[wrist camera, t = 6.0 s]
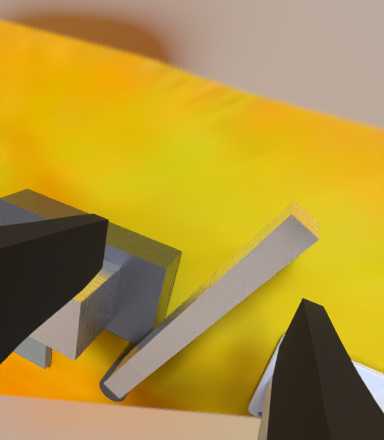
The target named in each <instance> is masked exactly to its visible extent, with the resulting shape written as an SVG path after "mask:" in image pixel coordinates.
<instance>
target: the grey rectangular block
mask: <svg viewBox="0 0 384 440" xmlns="http://www.w3.org/2000/svg"><path fill="white" fill-rule="evenodd" d="M120 270H121V267H119V266H117V265H115V264H112V263H110V262H108V261H105V260H103V268H102V269H101V270H100V271H99V273H98V274H97V275H96V276H95V277H94V278H93V280H92V281H91V282H90V283H89V284H88V285H87V286H86V287H85V288H84V289H83V290H82V291H81V292H80V293H79V294H78V295H76V296H75V297H74V298H73V299H72V300H71V301H69V302H68V303H67V304H66V305H65V306H63V307H62V308H61V309H60V310H59V311H58V312H56V313H55V314H54V315H53V316H52V317H50V318H49V319H48V320H47V321H46V322H44V323H43V324H42V325H41V326H40V327H38V328H37V329H36V330H35V331H34V332H33V333H32V334H30V335H29V337H31V338H33V339H35V340H37V341H39V342H41V343H43V344H44V345H46V346H48V347H50V348H52V349H54V350H56V351H58V352H59V353H61V354H63V355H65V356H67V357H69V358H71V359H73V360H76V359H77V358H78V357H79V356H80V355H81V353H82V352H83V351H84V350H85V349H86V348H87V347H88V346H89V345H90V344H91V342H92V341H93V340H94V339H95V338H96V337H97V336H98V335H99V334H100V333H101V331H102V330H103V329H104V328H105V327H106V326H107V325H108V324H109V323H110V322H111V320H112V319H113V314H114V307H115V301H116V295H117V289H118V283H119V277H120Z"/></svg>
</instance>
